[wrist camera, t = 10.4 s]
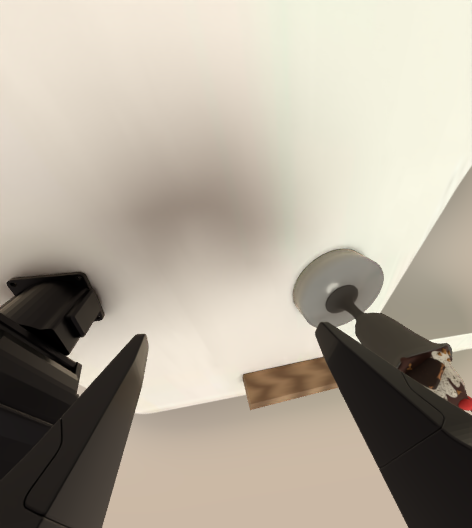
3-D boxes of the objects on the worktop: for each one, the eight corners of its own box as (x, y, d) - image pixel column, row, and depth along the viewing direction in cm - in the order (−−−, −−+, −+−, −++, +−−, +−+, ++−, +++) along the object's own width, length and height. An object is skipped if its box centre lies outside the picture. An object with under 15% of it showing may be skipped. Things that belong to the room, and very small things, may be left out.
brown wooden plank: (243, 380, 36) (250, 409, 31) (243, 374, 35) (250, 404, 30) (324, 362, 39) (341, 386, 35) (327, 356, 38) (344, 380, 34)
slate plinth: (287, 319, 30) (296, 334, 27) (301, 252, 24) (314, 264, 21) (351, 308, 32) (364, 321, 29) (377, 245, 26) (398, 254, 24)
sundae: (357, 310, 28) (503, 440, 15) (316, 321, 27) (434, 469, 14) (369, 274, 24) (570, 402, 11) (323, 285, 23) (485, 437, 10)
